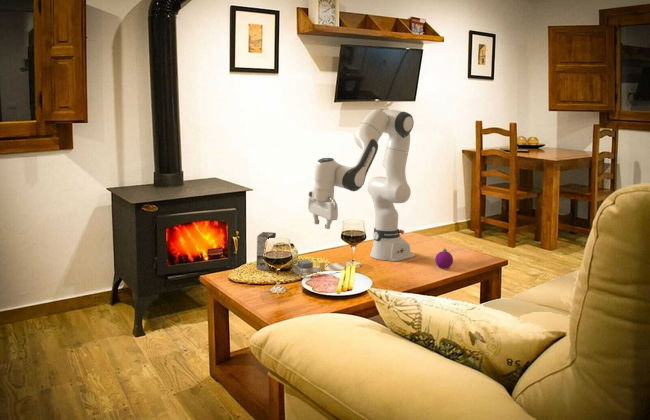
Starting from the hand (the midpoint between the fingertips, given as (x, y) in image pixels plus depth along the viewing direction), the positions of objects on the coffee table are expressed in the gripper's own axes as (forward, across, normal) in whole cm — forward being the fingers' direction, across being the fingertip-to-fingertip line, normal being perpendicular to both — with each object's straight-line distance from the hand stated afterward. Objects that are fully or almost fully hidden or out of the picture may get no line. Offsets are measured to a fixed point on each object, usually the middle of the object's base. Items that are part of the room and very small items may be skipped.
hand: (322, 226), depth 266 cm
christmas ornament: (+20, -18, -57) cm, 63 cm away
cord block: (+20, 0, +4) cm, 21 cm away
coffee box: (+22, +14, +20) cm, 33 cm away
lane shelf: (+21, 0, -1) cm, 21 cm away
